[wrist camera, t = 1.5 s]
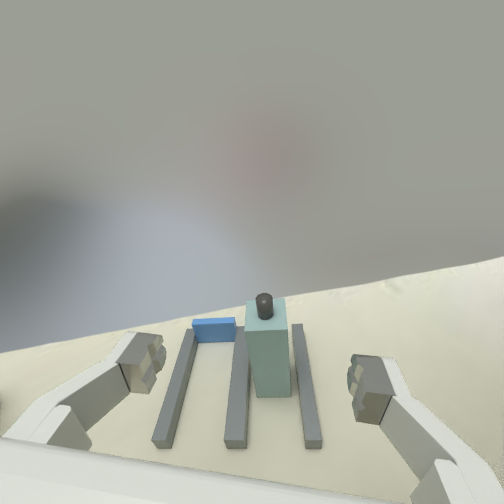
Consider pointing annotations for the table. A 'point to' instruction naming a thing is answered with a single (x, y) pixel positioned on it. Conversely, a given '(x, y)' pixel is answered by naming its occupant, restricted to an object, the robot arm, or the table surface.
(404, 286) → the table surface
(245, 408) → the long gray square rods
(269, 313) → the capped teal pillar
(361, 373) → the robot arm
